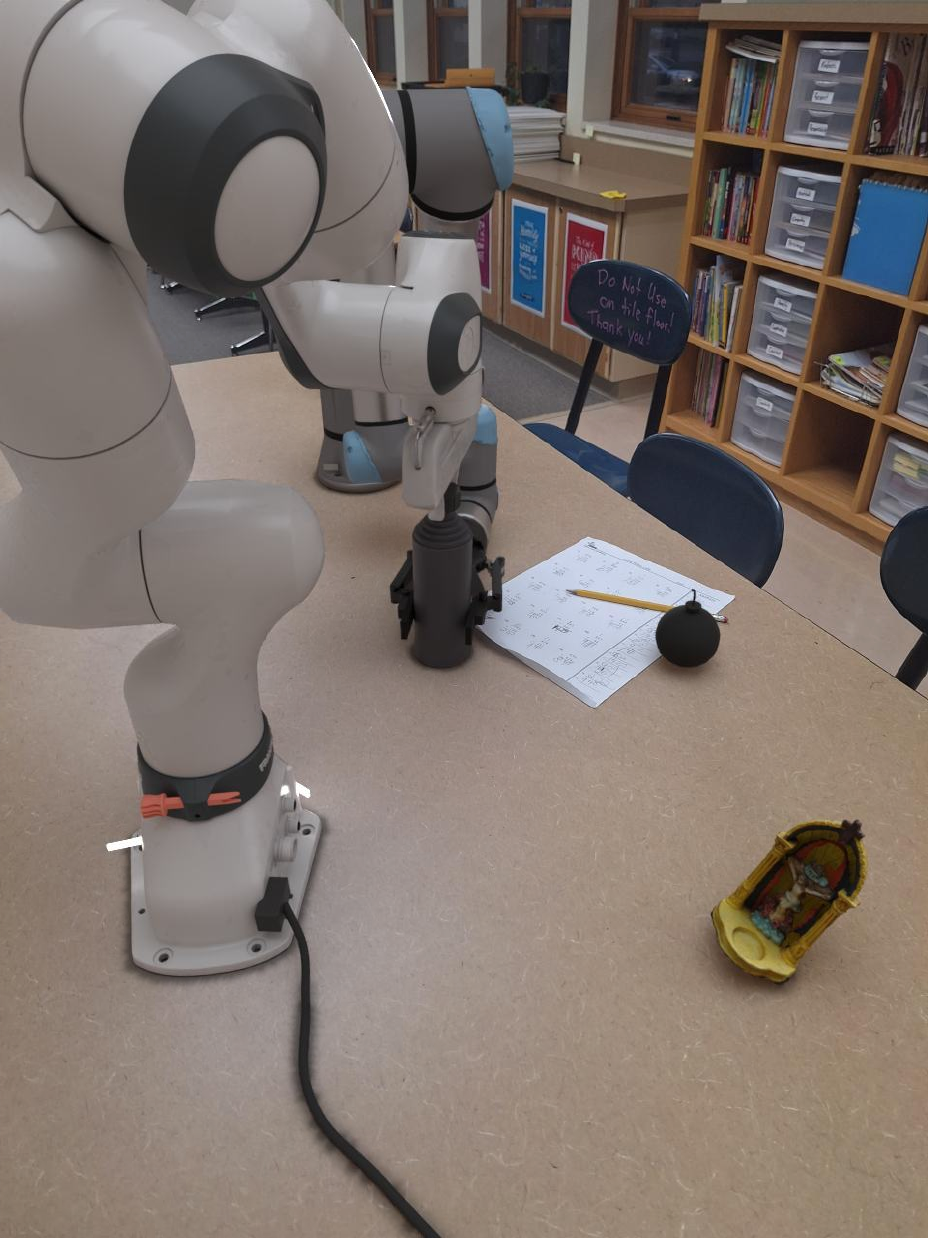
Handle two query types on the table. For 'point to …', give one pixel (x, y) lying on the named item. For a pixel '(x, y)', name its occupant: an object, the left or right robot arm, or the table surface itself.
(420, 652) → the bottle
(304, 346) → the left robot arm
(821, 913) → the shrine
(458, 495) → the cap
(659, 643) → the bomb
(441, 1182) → the table surface
